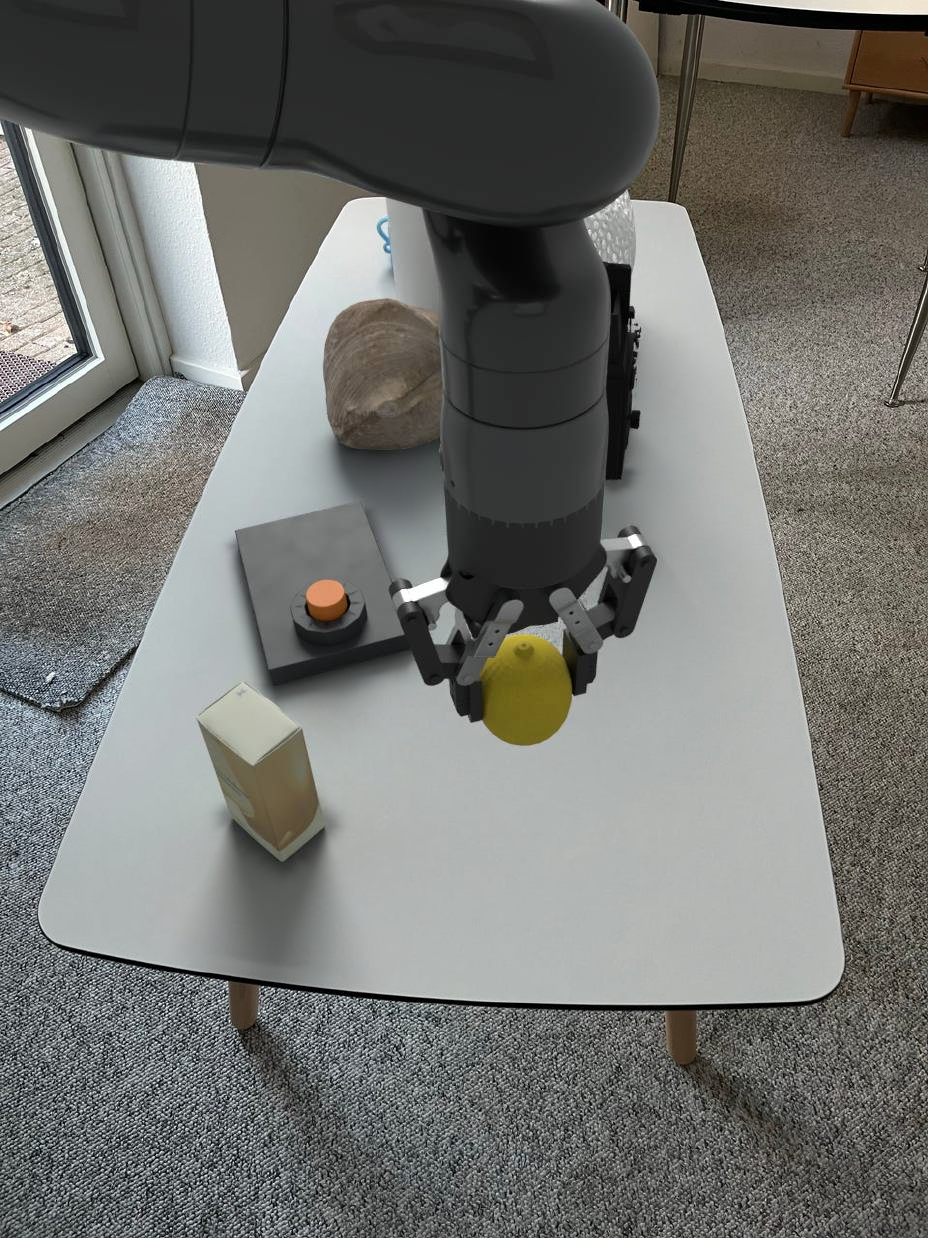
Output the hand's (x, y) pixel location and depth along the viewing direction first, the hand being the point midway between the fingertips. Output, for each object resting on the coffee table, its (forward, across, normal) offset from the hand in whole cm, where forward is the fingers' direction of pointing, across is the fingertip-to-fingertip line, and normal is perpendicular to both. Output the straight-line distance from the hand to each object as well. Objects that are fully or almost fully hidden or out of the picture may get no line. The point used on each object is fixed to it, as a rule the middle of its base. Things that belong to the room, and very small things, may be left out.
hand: (523, 696), depth 61 cm
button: (+16, -8, +26) cm, 32 cm away
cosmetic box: (+19, -16, +9) cm, 27 cm away
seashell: (+19, +6, +54) cm, 57 cm away
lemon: (+4, 0, 0) cm, 4 cm away
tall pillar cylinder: (+19, +14, +71) cm, 75 cm away
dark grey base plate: (+19, -8, +31) cm, 38 cm away
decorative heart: (+19, +29, +65) cm, 73 cm away
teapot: (+19, +16, +85) cm, 88 cm away
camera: (+19, +22, +44) cm, 52 cm away
